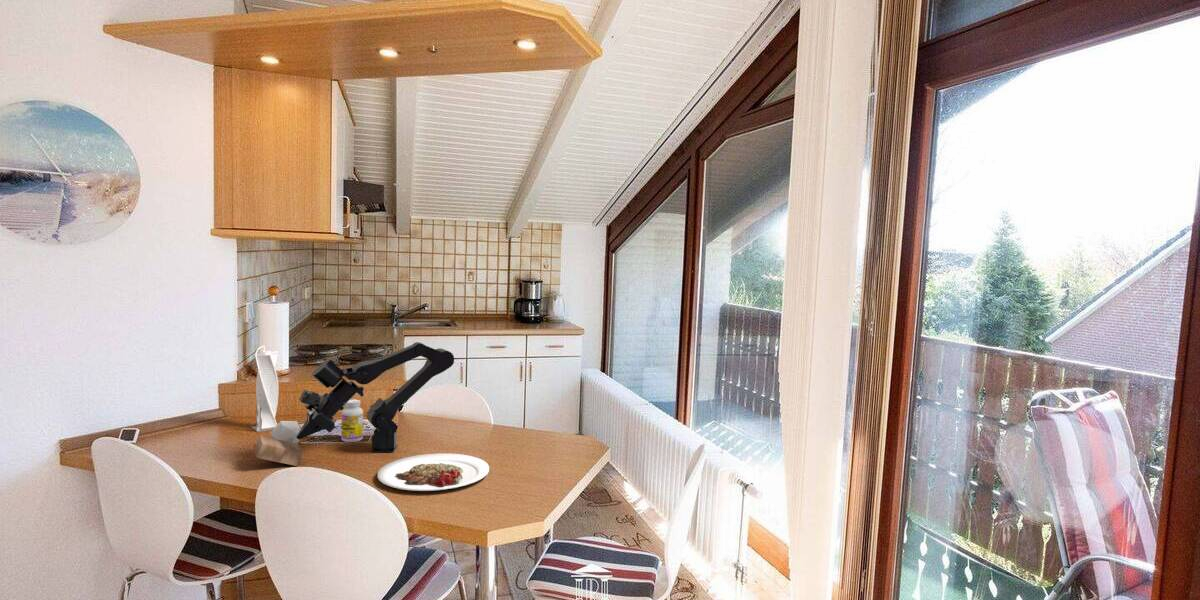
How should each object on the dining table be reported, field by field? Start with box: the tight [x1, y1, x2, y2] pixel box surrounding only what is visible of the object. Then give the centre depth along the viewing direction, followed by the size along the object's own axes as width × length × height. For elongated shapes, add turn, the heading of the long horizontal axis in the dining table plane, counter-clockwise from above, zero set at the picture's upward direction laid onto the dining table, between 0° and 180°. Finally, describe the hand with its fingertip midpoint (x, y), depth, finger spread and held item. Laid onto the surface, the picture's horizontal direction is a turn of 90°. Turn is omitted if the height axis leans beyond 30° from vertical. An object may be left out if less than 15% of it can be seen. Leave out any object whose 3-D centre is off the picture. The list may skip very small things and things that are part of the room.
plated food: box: [377, 452, 490, 492], centre depth 180 cm, size 30×30×3 cm
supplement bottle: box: [340, 399, 364, 443], centre depth 211 cm, size 7×7×13 cm
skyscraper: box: [251, 345, 280, 433], centre depth 223 cm, size 8×8×28 cm
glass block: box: [254, 435, 304, 467], centre depth 186 cm, size 4×9×11 cm
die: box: [269, 420, 301, 444], centre depth 203 cm, size 8×9×10 cm
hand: (297, 438), depth 189 cm, fingers closed
